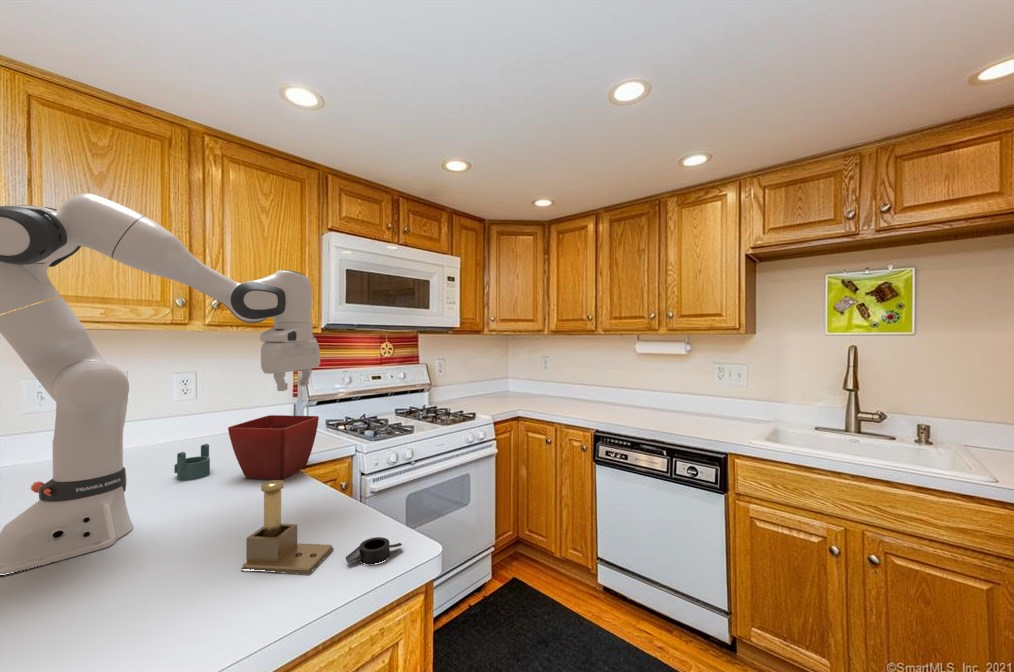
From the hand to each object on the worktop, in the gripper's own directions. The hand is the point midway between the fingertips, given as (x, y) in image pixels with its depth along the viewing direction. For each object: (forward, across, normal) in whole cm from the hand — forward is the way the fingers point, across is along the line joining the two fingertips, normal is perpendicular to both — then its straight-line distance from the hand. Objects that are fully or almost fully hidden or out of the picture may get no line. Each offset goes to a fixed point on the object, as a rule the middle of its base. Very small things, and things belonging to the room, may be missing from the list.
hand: (293, 388), depth 108 cm
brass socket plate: (+31, +23, +14) cm, 41 cm away
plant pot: (+31, -26, -22) cm, 46 cm away
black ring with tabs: (+32, +21, +30) cm, 48 cm away
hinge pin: (+30, +23, +10) cm, 39 cm away
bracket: (+31, -21, -47) cm, 60 cm away
